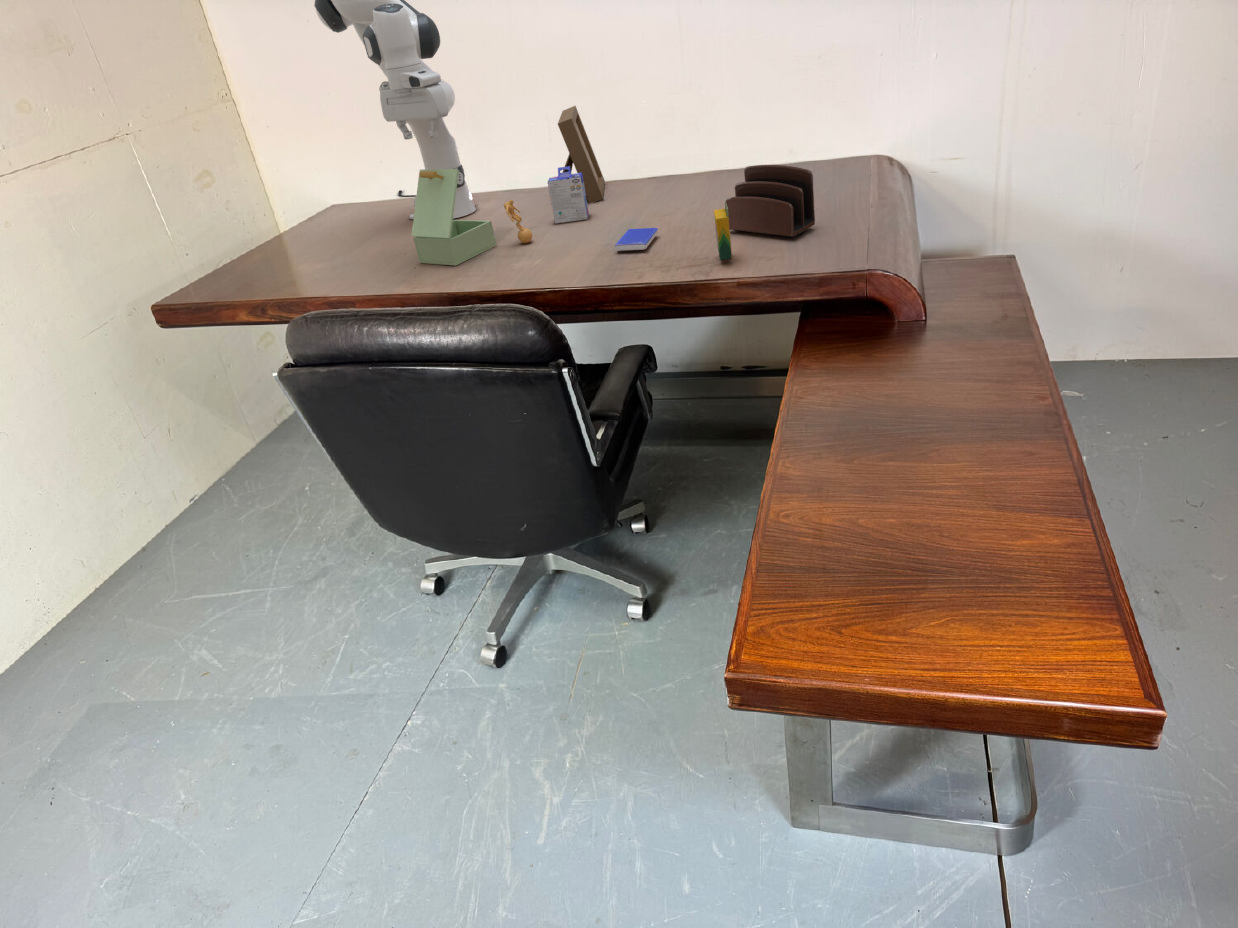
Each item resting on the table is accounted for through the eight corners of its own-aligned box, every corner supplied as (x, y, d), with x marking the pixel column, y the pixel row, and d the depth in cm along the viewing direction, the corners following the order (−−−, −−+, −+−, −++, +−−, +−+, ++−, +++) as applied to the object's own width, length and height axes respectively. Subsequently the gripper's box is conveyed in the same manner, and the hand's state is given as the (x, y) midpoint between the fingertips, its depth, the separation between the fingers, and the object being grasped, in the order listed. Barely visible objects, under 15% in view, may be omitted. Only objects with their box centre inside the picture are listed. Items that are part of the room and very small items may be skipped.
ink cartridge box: (589, 214, 246) (581, 163, 238) (588, 219, 241) (580, 168, 234) (556, 219, 247) (547, 168, 239) (554, 224, 242) (545, 173, 234)
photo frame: (605, 184, 275) (593, 102, 262) (603, 202, 257) (590, 115, 243) (560, 190, 276) (546, 110, 263) (555, 208, 258) (540, 123, 245)
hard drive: (645, 243, 208) (657, 227, 218) (614, 244, 210) (627, 229, 220) (646, 249, 209) (658, 233, 219) (615, 250, 211) (628, 234, 221)
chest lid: (421, 170, 222) (408, 165, 218) (459, 170, 215) (446, 164, 211) (413, 236, 224) (400, 233, 220) (450, 238, 217) (437, 234, 213)
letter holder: (748, 218, 218) (745, 162, 211) (815, 225, 206) (814, 166, 198) (725, 230, 213) (721, 173, 205) (793, 238, 200) (791, 178, 193)
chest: (460, 243, 239) (454, 219, 235) (496, 245, 232) (491, 220, 228) (419, 263, 227) (412, 238, 224) (456, 265, 220) (449, 240, 217)
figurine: (530, 247, 226) (521, 202, 219) (508, 249, 227) (499, 205, 220) (536, 237, 233) (527, 193, 226) (515, 239, 234) (506, 196, 227)
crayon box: (717, 250, 199) (713, 201, 193) (729, 249, 199) (726, 200, 193) (719, 261, 193) (715, 210, 187) (732, 259, 193) (728, 208, 187)
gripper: (368, 84, 209) (384, 142, 216) (426, 78, 198) (441, 140, 205) (387, 79, 213) (402, 137, 220) (445, 73, 202) (459, 134, 209)
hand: (421, 138), depth 212 cm, fingers open, 8 cm apart
